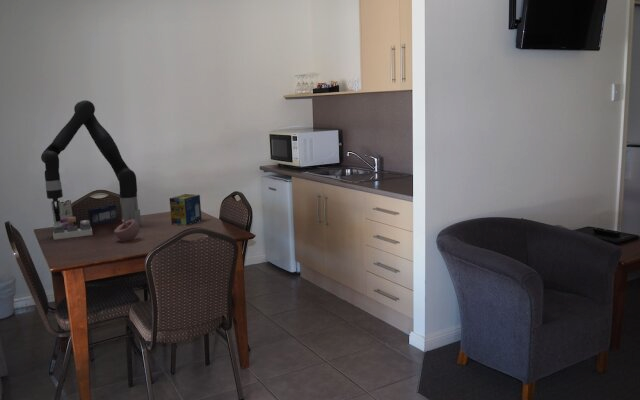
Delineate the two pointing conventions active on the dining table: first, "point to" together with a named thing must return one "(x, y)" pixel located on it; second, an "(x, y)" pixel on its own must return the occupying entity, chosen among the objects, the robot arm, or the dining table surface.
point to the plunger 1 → (58, 225)
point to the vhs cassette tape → (102, 215)
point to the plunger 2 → (84, 222)
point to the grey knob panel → (72, 232)
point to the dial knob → (71, 220)
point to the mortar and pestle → (127, 230)
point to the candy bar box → (64, 213)
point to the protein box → (185, 209)
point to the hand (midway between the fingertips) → (58, 221)
